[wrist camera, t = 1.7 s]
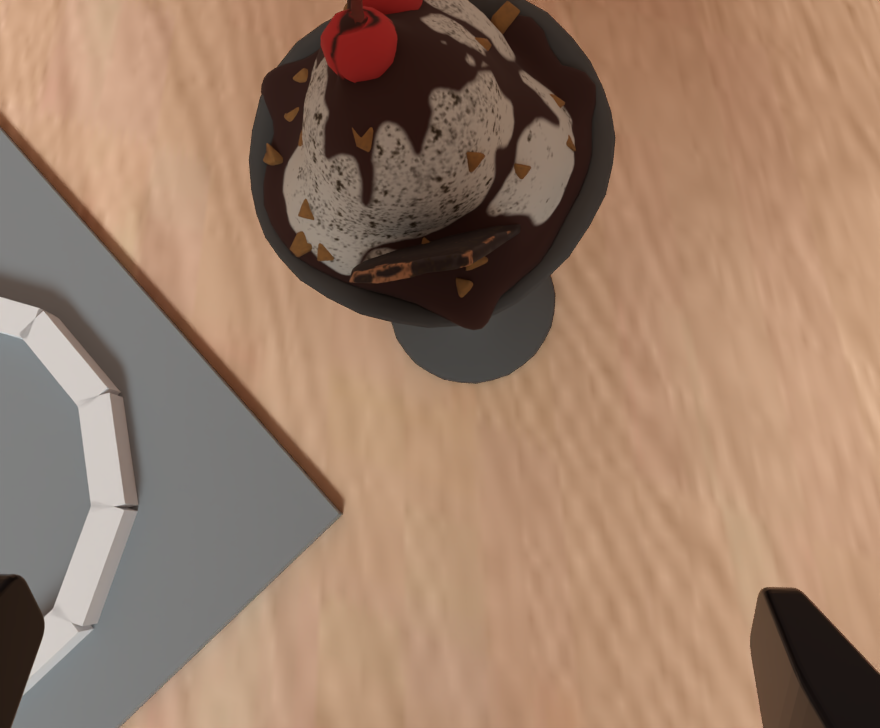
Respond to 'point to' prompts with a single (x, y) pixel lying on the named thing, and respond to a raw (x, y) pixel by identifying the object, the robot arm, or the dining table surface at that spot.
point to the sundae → (435, 171)
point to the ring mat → (122, 471)
